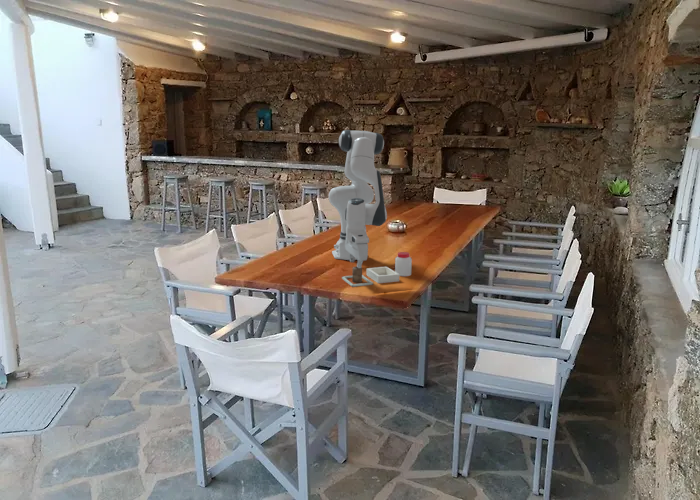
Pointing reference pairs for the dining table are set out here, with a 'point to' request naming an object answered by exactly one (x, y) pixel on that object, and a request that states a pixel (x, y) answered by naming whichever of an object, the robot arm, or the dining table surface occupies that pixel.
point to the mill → (357, 275)
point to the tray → (357, 284)
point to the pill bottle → (403, 264)
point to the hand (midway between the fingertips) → (355, 264)
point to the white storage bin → (382, 274)
